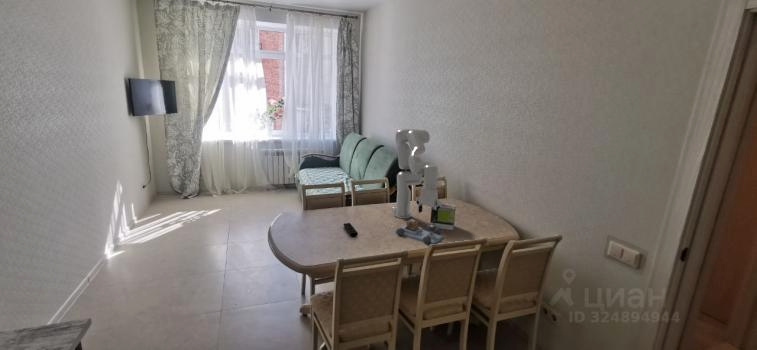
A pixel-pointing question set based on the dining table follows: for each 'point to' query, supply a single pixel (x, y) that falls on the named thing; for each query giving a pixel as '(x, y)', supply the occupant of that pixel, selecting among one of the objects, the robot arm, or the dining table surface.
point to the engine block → (412, 225)
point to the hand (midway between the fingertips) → (427, 214)
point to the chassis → (421, 234)
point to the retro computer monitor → (444, 216)
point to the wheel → (431, 228)
